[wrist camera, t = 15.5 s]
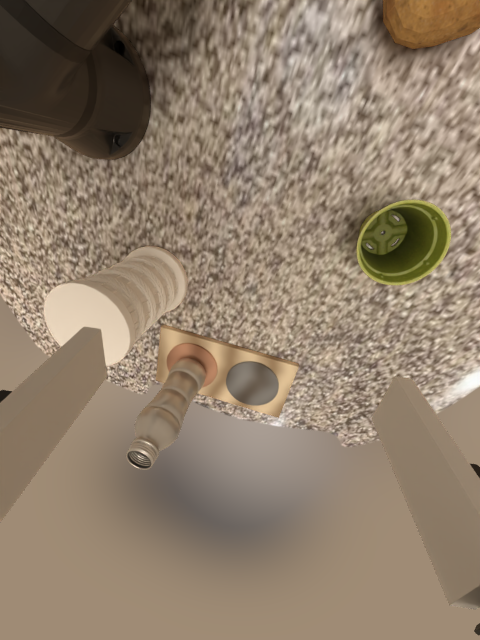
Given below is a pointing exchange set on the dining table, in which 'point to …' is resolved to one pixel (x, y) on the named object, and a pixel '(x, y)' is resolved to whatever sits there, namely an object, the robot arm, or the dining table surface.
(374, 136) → the dining table surface
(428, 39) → the potato
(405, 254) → the plant pot
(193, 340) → the board
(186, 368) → the plastic bottle
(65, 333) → the decorative container
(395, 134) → the dining table surface
